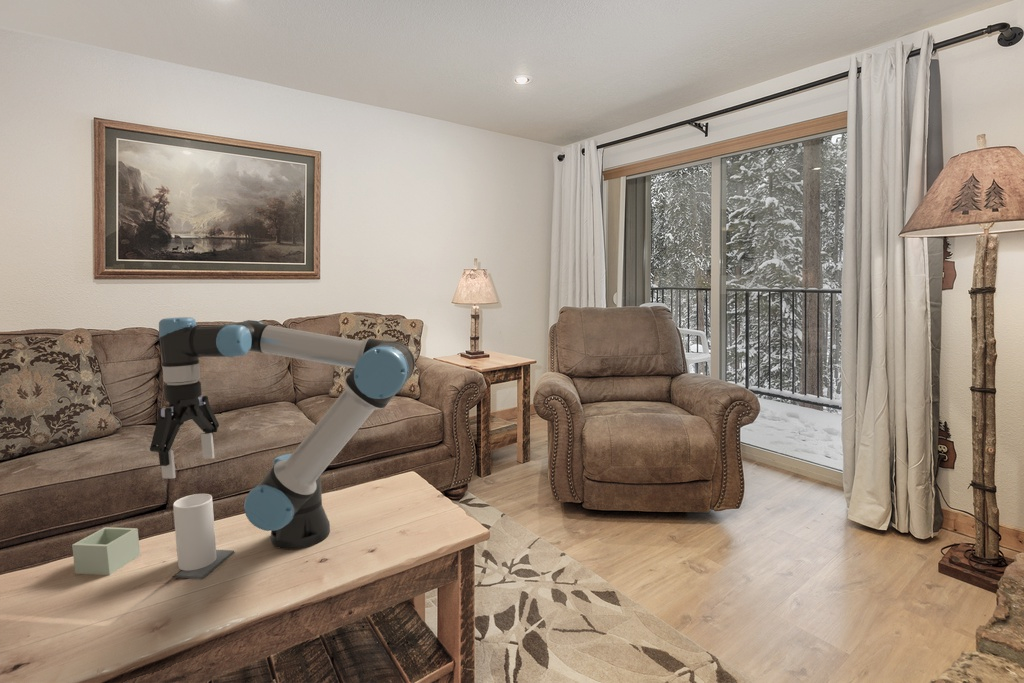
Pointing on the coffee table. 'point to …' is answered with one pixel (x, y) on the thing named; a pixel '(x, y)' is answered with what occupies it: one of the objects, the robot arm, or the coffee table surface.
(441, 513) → the coffee table surface
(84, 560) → the planter
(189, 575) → the coaster
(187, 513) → the cup
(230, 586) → the coffee table surface
